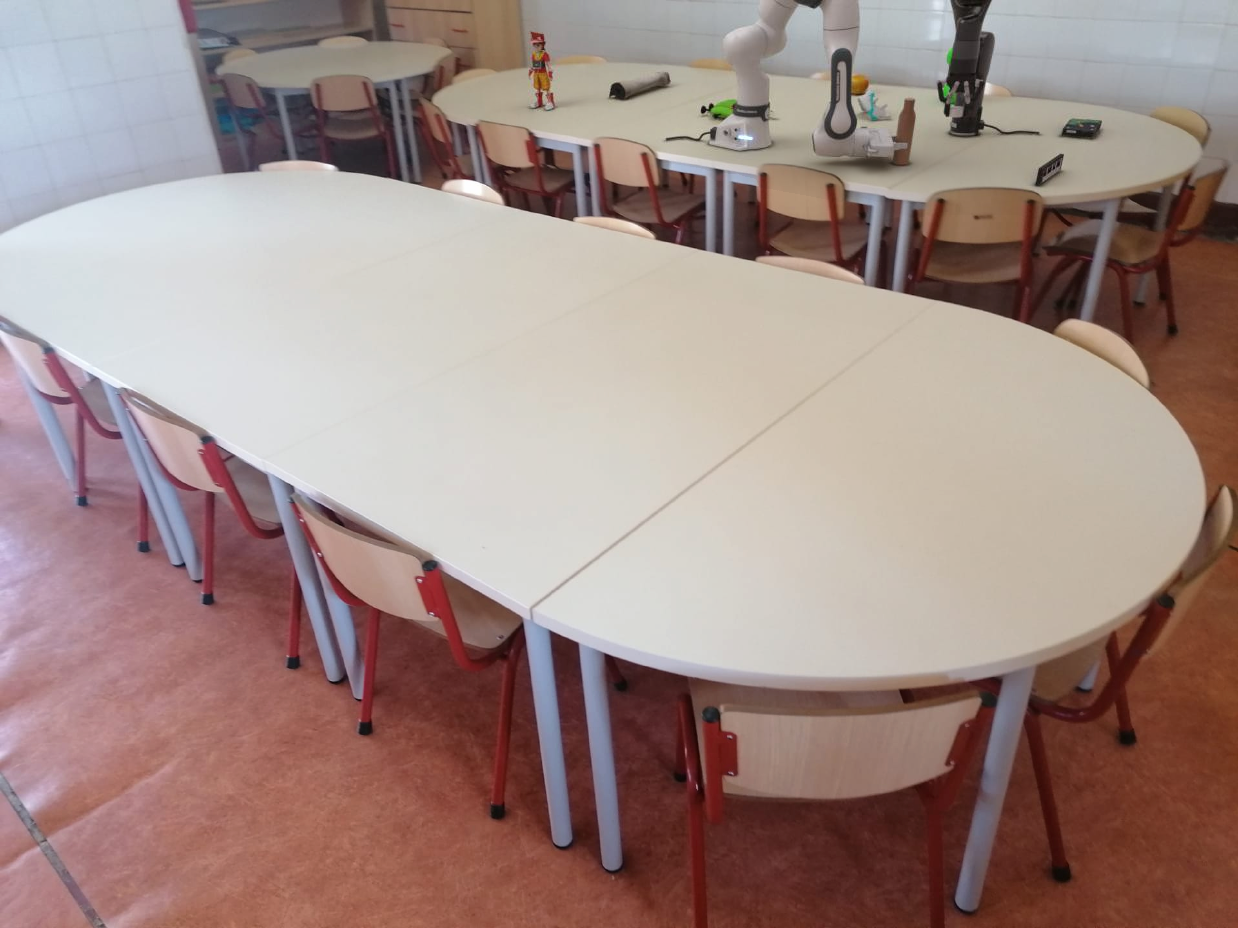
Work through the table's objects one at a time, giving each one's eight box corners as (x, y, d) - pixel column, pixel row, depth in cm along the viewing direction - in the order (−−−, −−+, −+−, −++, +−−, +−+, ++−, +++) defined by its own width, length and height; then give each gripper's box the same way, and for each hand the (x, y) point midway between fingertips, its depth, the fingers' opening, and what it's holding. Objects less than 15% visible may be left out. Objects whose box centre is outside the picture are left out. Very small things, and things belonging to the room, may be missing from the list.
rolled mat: (651, 76, 408) (662, 61, 399) (662, 93, 408) (674, 79, 400) (605, 92, 391) (616, 77, 383) (617, 110, 391) (628, 95, 383)
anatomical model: (852, 89, 345) (878, 82, 344) (855, 116, 351) (880, 109, 350) (864, 98, 333) (891, 91, 332) (866, 126, 338) (893, 119, 338)
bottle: (889, 163, 294) (898, 99, 283) (896, 159, 298) (906, 96, 286) (904, 166, 292) (914, 101, 280) (911, 162, 295) (921, 98, 283)
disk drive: (1093, 139, 305) (1100, 128, 315) (1095, 131, 303) (1102, 120, 313) (1060, 136, 309) (1068, 125, 319) (1062, 128, 308) (1070, 117, 318)
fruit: (842, 86, 371) (854, 68, 368) (844, 90, 378) (856, 72, 375) (859, 97, 369) (871, 79, 366) (861, 100, 377) (873, 83, 374)
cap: (964, 115, 274) (965, 107, 272) (960, 118, 271) (961, 110, 270) (950, 113, 276) (951, 105, 275) (945, 116, 273) (946, 108, 272)
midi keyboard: (1039, 185, 269) (1043, 168, 266) (1035, 184, 270) (1038, 168, 267) (1060, 170, 279) (1064, 154, 277) (1056, 169, 280) (1060, 153, 277)
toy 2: (691, 117, 351) (761, 130, 338) (692, 103, 348) (762, 116, 335) (722, 107, 371) (789, 118, 359) (724, 93, 368) (791, 105, 356)
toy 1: (525, 109, 381) (517, 32, 364) (534, 104, 388) (527, 28, 371) (550, 110, 377) (543, 32, 360) (559, 105, 384) (553, 28, 367)
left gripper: (865, 142, 283) (910, 141, 281) (861, 124, 299) (904, 124, 297) (863, 162, 287) (908, 161, 284) (859, 144, 303) (902, 143, 301)
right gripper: (987, 52, 266) (977, 113, 275) (937, 54, 268) (929, 113, 277) (992, 58, 259) (981, 119, 269) (941, 59, 262) (932, 119, 271)
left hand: (906, 142), depth 291 cm, fingers closed on bottle, 5 cm apart
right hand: (955, 116), depth 273 cm, fingers closed on cap, 4 cm apart
